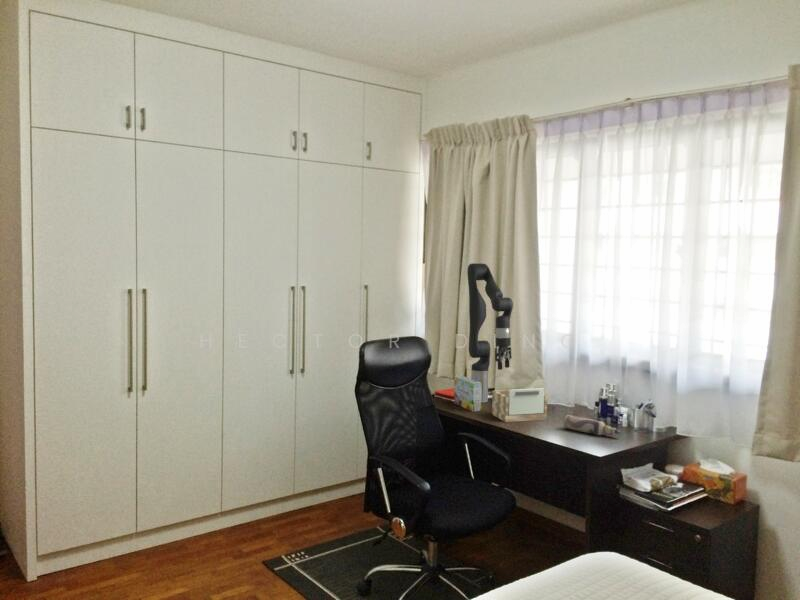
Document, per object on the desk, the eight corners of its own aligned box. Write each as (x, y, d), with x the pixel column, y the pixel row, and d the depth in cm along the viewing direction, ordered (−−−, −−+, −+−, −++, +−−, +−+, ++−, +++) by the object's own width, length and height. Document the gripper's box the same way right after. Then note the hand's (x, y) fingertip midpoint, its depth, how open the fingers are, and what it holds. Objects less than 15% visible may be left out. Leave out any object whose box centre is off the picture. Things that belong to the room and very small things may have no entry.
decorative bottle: (561, 430, 309) (562, 415, 309) (569, 427, 315) (570, 413, 315) (615, 440, 292) (616, 425, 292) (623, 437, 298) (623, 422, 297)
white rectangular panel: (507, 414, 324) (508, 389, 323) (542, 412, 329) (542, 388, 328) (509, 415, 322) (510, 390, 321) (544, 413, 327) (544, 388, 326)
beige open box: (491, 414, 338) (492, 390, 337) (531, 412, 344) (532, 388, 343) (505, 421, 322) (506, 397, 322) (546, 419, 329) (547, 395, 328)
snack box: (453, 403, 361) (453, 375, 360) (462, 402, 363) (462, 375, 363) (472, 412, 342) (473, 382, 341) (482, 411, 344) (482, 382, 343)
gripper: (502, 335, 351) (502, 366, 351) (490, 337, 339) (490, 369, 339) (515, 335, 346) (516, 367, 347) (503, 337, 335) (504, 370, 335)
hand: (503, 368), depth 343 cm, fingers open, 8 cm apart
